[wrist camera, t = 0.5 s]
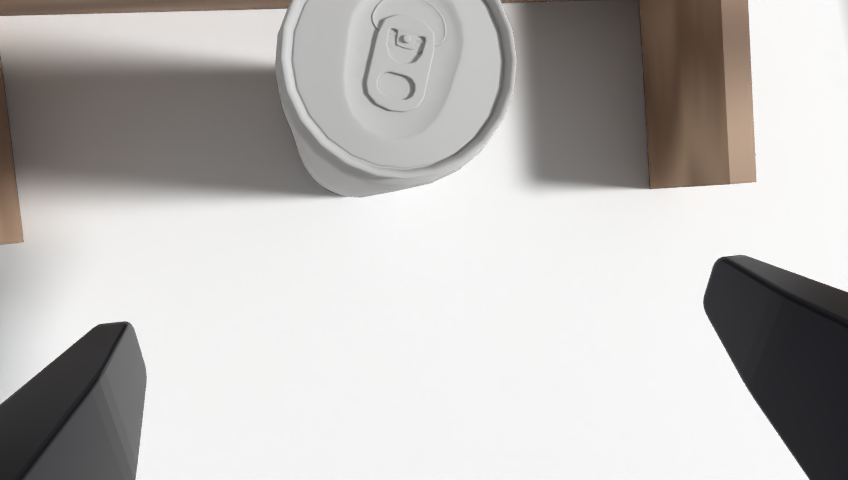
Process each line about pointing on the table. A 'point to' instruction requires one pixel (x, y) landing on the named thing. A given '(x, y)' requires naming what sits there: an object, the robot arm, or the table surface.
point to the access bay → (663, 84)
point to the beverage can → (393, 88)
